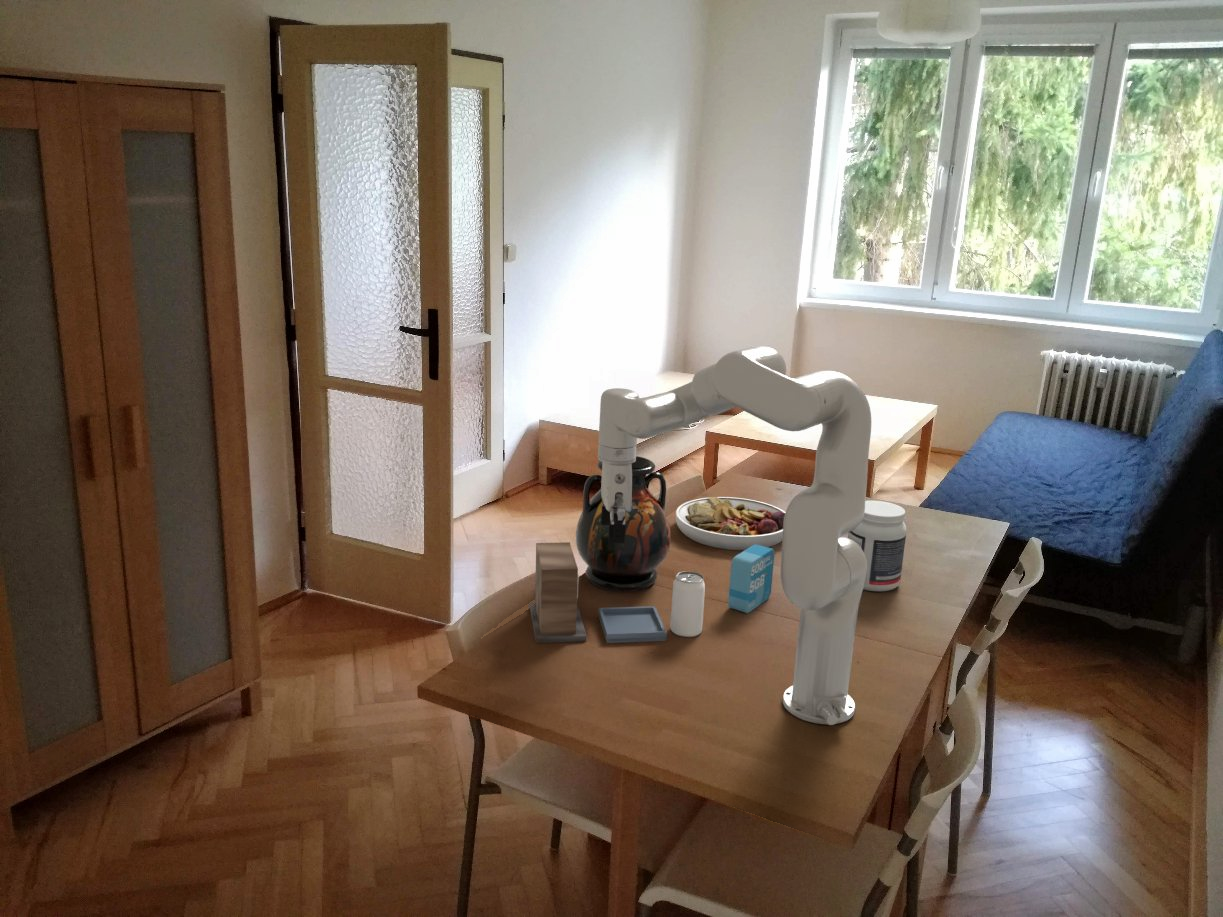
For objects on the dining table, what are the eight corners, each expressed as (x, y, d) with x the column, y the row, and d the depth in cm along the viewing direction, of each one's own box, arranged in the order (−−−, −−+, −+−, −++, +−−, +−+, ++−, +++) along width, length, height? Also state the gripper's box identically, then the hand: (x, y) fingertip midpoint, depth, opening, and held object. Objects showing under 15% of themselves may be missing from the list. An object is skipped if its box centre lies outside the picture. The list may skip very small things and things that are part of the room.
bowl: (662, 544, 248) (664, 515, 246) (688, 508, 276) (690, 481, 274) (781, 562, 240) (784, 532, 238) (796, 522, 268) (799, 495, 266)
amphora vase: (587, 602, 213) (591, 479, 205) (565, 564, 233) (568, 450, 225) (681, 594, 219) (688, 474, 211) (651, 558, 239) (657, 447, 231)
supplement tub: (903, 578, 233) (913, 505, 227) (894, 598, 222) (904, 521, 216) (849, 567, 238) (857, 495, 233) (837, 586, 227) (845, 511, 221)
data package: (745, 615, 210) (750, 563, 207) (727, 609, 213) (731, 558, 209) (770, 597, 220) (775, 547, 216) (752, 591, 222) (757, 542, 219)
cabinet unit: (586, 641, 196) (588, 570, 192) (536, 643, 194) (537, 571, 190) (576, 606, 211) (578, 540, 207) (529, 608, 210) (531, 541, 205)
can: (665, 633, 201) (668, 578, 197) (678, 621, 206) (681, 568, 203) (694, 640, 198) (698, 585, 194) (706, 628, 203) (710, 574, 200)
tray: (666, 640, 198) (666, 632, 197) (606, 642, 196) (607, 634, 195) (654, 614, 209) (654, 606, 208) (598, 616, 207) (598, 608, 206)
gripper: (643, 465, 186) (638, 549, 191) (628, 439, 202) (623, 517, 207) (604, 465, 185) (599, 550, 190) (592, 439, 201) (588, 517, 206)
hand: (612, 533), depth 198 cm, fingers open, 9 cm apart
